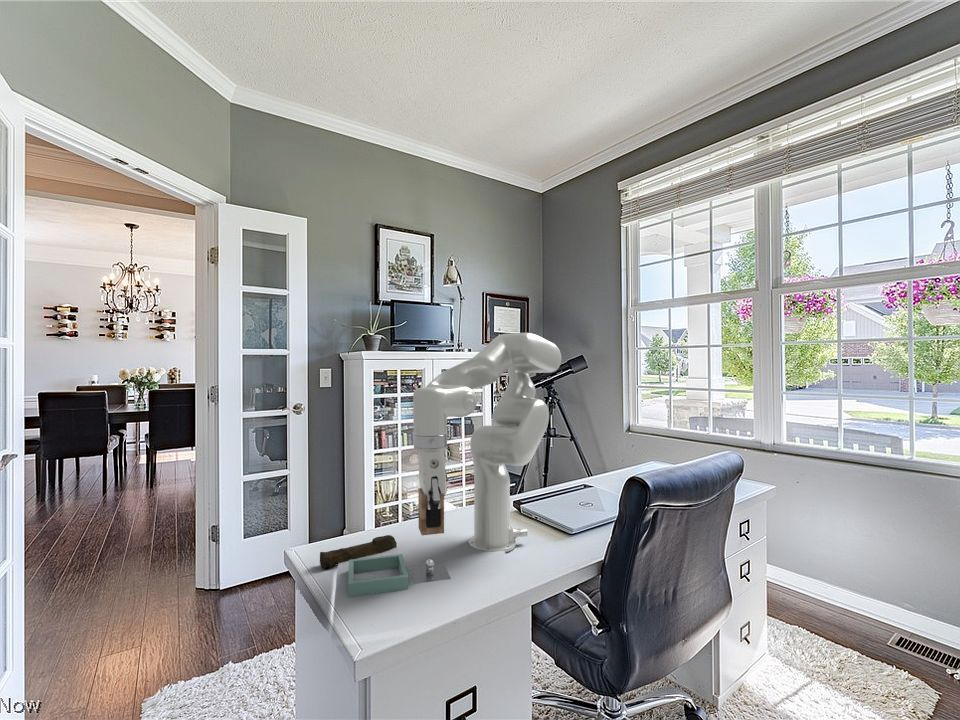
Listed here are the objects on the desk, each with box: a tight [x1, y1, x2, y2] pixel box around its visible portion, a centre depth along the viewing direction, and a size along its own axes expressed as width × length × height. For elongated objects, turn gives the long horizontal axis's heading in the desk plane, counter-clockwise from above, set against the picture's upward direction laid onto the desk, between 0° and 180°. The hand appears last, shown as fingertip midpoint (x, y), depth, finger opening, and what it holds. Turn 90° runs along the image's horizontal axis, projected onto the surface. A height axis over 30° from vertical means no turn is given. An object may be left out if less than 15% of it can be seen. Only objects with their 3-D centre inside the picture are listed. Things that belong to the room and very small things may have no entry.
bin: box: [347, 553, 409, 598], centre depth 98 cm, size 12×12×4 cm
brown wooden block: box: [417, 487, 445, 536], centre depth 101 cm, size 5×5×9 cm
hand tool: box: [319, 534, 398, 570], centre depth 110 cm, size 19×4×5 cm, turn 120°
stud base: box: [409, 558, 451, 585], centre depth 101 cm, size 8×8×4 cm
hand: (431, 521), depth 101 cm, fingers closed on brown wooden block, 5 cm apart
